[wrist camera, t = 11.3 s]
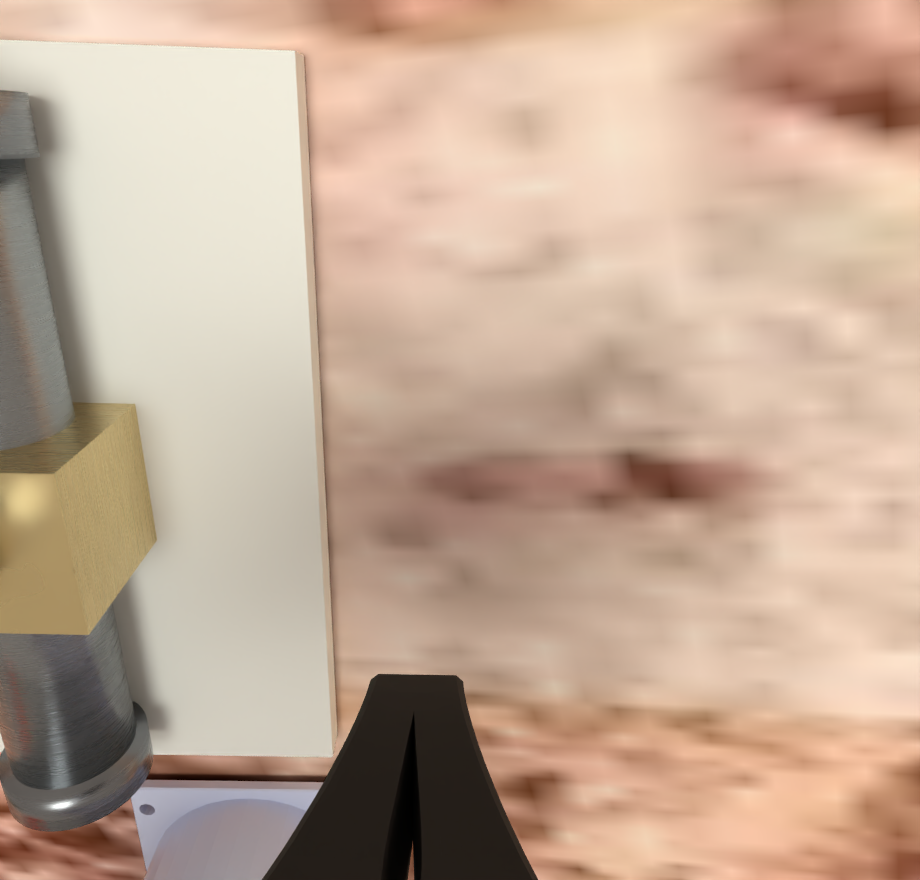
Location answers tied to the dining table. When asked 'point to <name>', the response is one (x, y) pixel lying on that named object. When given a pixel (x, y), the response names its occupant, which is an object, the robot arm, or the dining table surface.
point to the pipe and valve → (60, 543)
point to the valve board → (198, 368)
